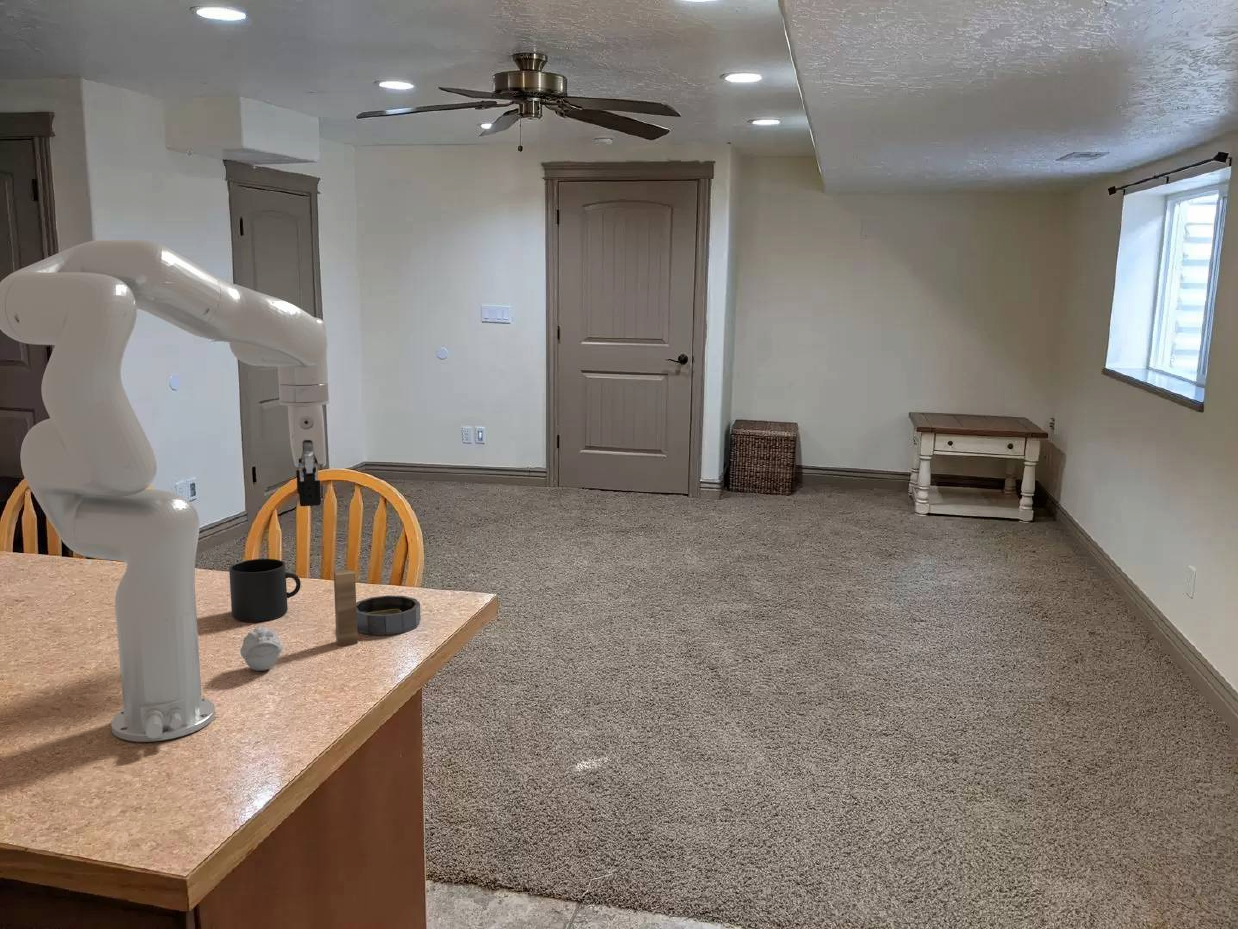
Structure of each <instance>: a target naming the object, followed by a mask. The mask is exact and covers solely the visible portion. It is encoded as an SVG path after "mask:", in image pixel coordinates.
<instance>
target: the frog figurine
mask: <svg viewBox="0 0 1238 929" xmlns="http://www.w3.org/2000/svg"><path fill="white" fill-rule="evenodd" d="M242 642H243V643H242V645H241V648H240V651H239V652H240V655H241V658H242V659H243V660H244V662H245V663H246V664H247V666H248V667H249V668H250V669H252V670H254V671H259V672H263V671H267V670H269V669H271V668H272V667H273V666H275V664H277V662H278V660H279V658H280V654H281V653H282V651H283V643H282V642H281V639H280V637H279V635H278V633H276V632H275V630H274V629H269V628H268V627H266V626H262V627H260V626H258V627H255V628H254V629H253V631H250V632H248V634H247V635H246V636H245V637H244V639H243V640H242Z"/></svg>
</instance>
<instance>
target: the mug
mask: <svg viewBox="0 0 1238 929" xmlns="http://www.w3.org/2000/svg"><path fill="white" fill-rule="evenodd" d="M286 570H287V566H286V562H285V561H283V560H281V559H275V558H274V559H273V558H256V559H254V558H253V559H248V560H247V559H246V560H241V561H239V562H235V563H233V564H231V565H230V566H229V569H228V571H229V572H228V573H229V574H228V575H229V591H230V608H231V609H230V610H231V616H232V619H234V620H236V621H240V622H246V623H259V622H267V621H272V620H276V619H279V618H281V617H283V616H285V615H286V614H287V612H288V607H289V606H288V599H290V598H291V597H294V596H295V595H298V593H299V592H300V589H301V586H302V583H301V579H300V577H299V576H298V574H296V573H293V572H287V571H286ZM287 579H293V580H294V581H295V584H296V585H295V588H294V589H293V590H292V591H290V592H289V591H287V590H288V589H287V586H288V585H287Z"/></svg>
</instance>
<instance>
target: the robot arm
mask: <svg viewBox="0 0 1238 929" xmlns="http://www.w3.org/2000/svg"><path fill="white" fill-rule="evenodd" d="M137 309H138V310H141V311H144V312H147V313H148V314H151V315H153V316H155V317H156V318H159V319H161V320H163V321H165V322H167V323H169V324H171V325H173V326H175V327H177V328H180V329H182V330H184V331H185V332H187V333H189V334H191V335H194V336H196V337H199V338H204V339H207V340H212V341H218V342H224V343H225V342H226V343H228V344H229V348H230V351H231V352H232V354H233V355H234V357H236V359H237V360H239V361H240V362H241V363H244V364H245V365H249V366H254V367H271V368H274V367H277V376H278V379H277V380H278V392H279V393H278V395H279V396H278V397H279V398H278V399H279V405H280V406H284V407H287V412H288V413H287V414H288V416H287V417H288V430H289V441H290V448H291V449H290V450H291V455H292V459H293V462H294V466H295V467H296V468H297V470H295V472H296V474H295V475H296V490H297V491H296V492H297V494H299V495H298V496H299V497H298V498H299V501H298V502H299V506H300V507H314V506H315V507H316V506H317V507H318V506H320V505H321V504H322V500H321V498H322V497H321V480H320V479H319V469H318V468H319V467H318V464H319V465H321V466H322V467H325V466H326V465H327V454H326V436H325V434H326V433H325V432H326V431H325V421H324V420H325V419H324V418H325V416H324V410H323V406H325V405H327V404H329V403H330V402H329V400H330V399H329V398H330V396H329V379H328V378H329V377H328V376H329V375H328V354H327V353H328V352H327V351H328V338H327V330H326V325H325V322H324V321H323V319H321V318H319V317H315V316H312V315H311V314H310V313H308V312H306V311H305V310H303V309H302V308H300V307H299V306H296V305H295V304H293V303H291V302H288V301H286V300H283V299H282V298H281V299H280V298H278V297H275V296H273V295H272V296H271V295H269V294H266V293H263V292H259V291H258V290H257V291H256V290H253V289H251V288H248V287H246V286H245V287H244V286H241V285H239V284H236V283H232V282H230V281H229V282H228V281H226V280H224V279H222V278H219V277H218V276H216V275H215V274H213V273H211V272H209V271H208V270H206V269H204V268H202V267H201V266H199V265H198V264H196V263H194V262H193V261H191V260H189V259H188V258H186V257H184V256H183V255H181V254H180V253H177V252H176V251H174V250H173V249H171V248H169V247H167V246H166V245H163V244H161V243H158V242H155V241H150V240H144V239H141V240H140V239H126V240H125V239H124V240H123V239H117V240H116V239H111V240H109V239H108V240H107V239H103V240H102V239H101V240H99V239H98V240H90V241H87V242H83V243H79V244H77V245H74V246H71V247H70V248H67V249H65V250H62V251H60V252H58V253H55V254H53V255H51V256H48V257H46V258H44V259H41V260H39V261H36V262H34V263H32V264H30V265H27V266H25V267H23V268H19V269H18V270H16V271H14V272H12V273H9V275H7V276H6V277H5V278H3V279H2V280H1V281H0V331H1V332H2V333H3V334H5V335H6V336H7V337H8V338H10V339H12V340H15V341H16V342H20V343H23V344H27V345H35V346H36V345H37V346H38V345H42V346H45V345H46V346H54V347H53V350H52V352H51V354H50V356H49V360H48V362H47V364H46V368H45V370H44V374H43V377H42V380H41V398H42V401H43V405H44V407H45V410H46V412H47V414H48V416H49V418H48V419H44V420H42V421H40V422H37V423H35V425H34V426H33V425H32V427H31V428H30V429H29V430H28V432H27V433H26V435H25V437H24V438H23V441H22V444H21V447H20V448H21V449H20V467H21V471H22V474H23V476H24V477H23V478H24V480H25V482H26V484H27V486H28V487H29V489H30V491H31V493H32V494H33V495H34V498H35V500H36V501H37V503H38V505H39V506H40V509H41V510H42V511H43V513H44V514H45V516H46V518H47V519H48V521H49V523H50V524H51V526H52V527H53V529H54V531H55V532H56V535H57V536H58V537H59V538H60V540H61V541H62V542H63V544H64V545H65V546H66V547H67V548H68V549H70V550H71V551H72V552H74V553H75V554H78V555H80V556H83V557H88V558H93V559H101V560H109V561H118V562H124V563H126V568H125V572H124V574H123V575H122V578H121V580H120V582H119V584H118V586H117V589H116V591H115V597H114V608H115V609H114V610H115V618H116V630H117V631H116V632H117V633H116V634H117V644H118V646H117V647H118V658H119V672H120V681H121V682H120V683H121V694H122V696H121V697H122V708H123V709H122V710H120V711H119V712H117V714H115V715H114V717H113V718H112V719H111V722H110V725H111V727H110V728H111V731H112V732H111V733H112V734H113V735H114V736H115V737H117V738H119V739H121V740H124V741H129V742H137V743H143V742H144V743H147V742H148V743H151V742H161V741H167V740H172V739H176V738H180V737H184V736H187V735H189V734H192V733H195V732H196V731H200V730H201V729H203V728H204V727H206V726H207V725H209V724H210V723H212V721H213V719H214V718H215V715H216V706H215V704H214V703H213V702H212V701H211V700H209V699H207V698H205V697H203V696H202V694H203V692H202V680H201V678H202V677H201V661H200V646H199V632H198V615H197V603H196V602H197V601H196V587H195V586H196V585H195V583H196V582H195V578H196V577H195V575H196V572H195V571H196V569H195V568H196V557H197V549H198V544H199V537H200V518H199V514H198V512H197V509H196V508H195V507H194V505H193V504H192V502H190V501H189V500H188V499H187V498H185V497H183V496H182V495H180V494H178V493H177V494H176V493H174V492H170V491H166V490H160V489H148V488H149V487H150V486H151V485H152V483H153V481H154V480H155V478H156V476H157V469H158V468H157V466H158V465H157V459H156V456H155V452H154V449H153V447H152V446H151V443H150V440H149V439H148V436H147V435H146V432H145V430H144V428H143V427H142V425H141V423H140V421H139V418H138V416H137V414H136V412H135V409H134V408H133V406H132V404H131V402H130V400H129V398H128V396H127V393H126V391H125V388H124V385H123V380H122V376H121V375H122V374H121V373H122V371H121V370H122V364H123V358H124V354H125V351H126V348H127V345H128V343H129V341H130V338H131V336H132V334H133V331H134V328H135V325H136V321H137V317H138V316H137V315H138V314H137V313H138V310H137Z"/></svg>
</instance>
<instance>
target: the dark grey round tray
mask: <svg viewBox="0 0 1238 929" xmlns="http://www.w3.org/2000/svg"><path fill="white" fill-rule="evenodd" d="M356 611H357V633H360V634H364V635H368V636H379V637H380V636H393V635H394V636H395V635H400V634H404V633H408V632H411V631H413V630H414V629H415V630H416V628H418V627H419V626H420V623H421V603H420V602H419V600H418V599H417V598H413V597H410V596H406V595H389V594H388V595H382V596H381V595H380V596H373V597H368V598H365V599H364V598H363V599H361V600H359V601H356ZM418 625H419V626H418ZM417 626H418V627H417Z"/></svg>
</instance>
